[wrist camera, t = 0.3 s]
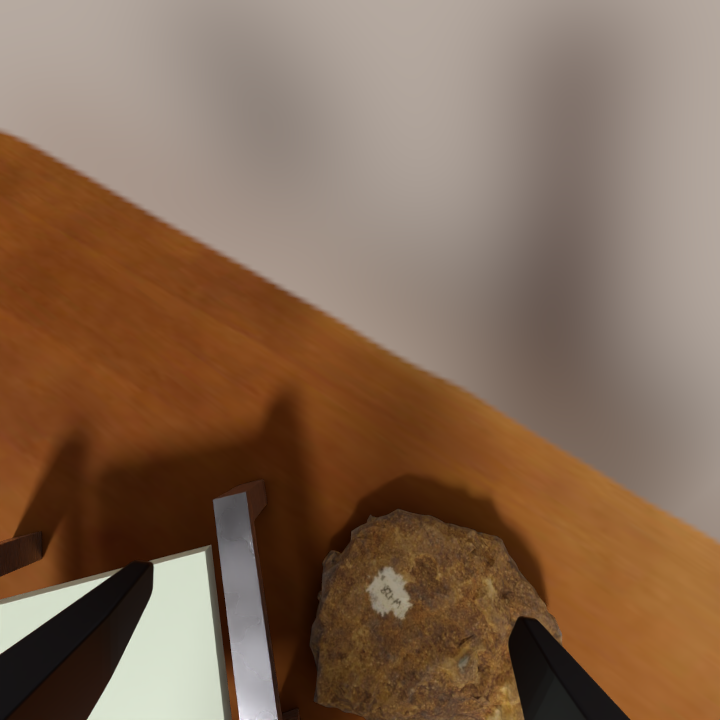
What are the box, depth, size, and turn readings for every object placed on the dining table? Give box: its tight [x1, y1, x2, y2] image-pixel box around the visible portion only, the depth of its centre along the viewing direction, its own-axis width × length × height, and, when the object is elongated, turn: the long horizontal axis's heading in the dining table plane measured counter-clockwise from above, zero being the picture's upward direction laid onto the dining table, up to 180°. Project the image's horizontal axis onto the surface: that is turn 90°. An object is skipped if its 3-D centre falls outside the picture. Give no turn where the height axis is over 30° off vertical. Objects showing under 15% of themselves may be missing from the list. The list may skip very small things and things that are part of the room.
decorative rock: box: [309, 509, 562, 720], centre depth 20 cm, size 11×4×15 cm
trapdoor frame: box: [0, 479, 300, 720], centre depth 17 cm, size 14×14×6 cm
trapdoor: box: [0, 545, 232, 720], centre depth 14 cm, size 10×10×1 cm
